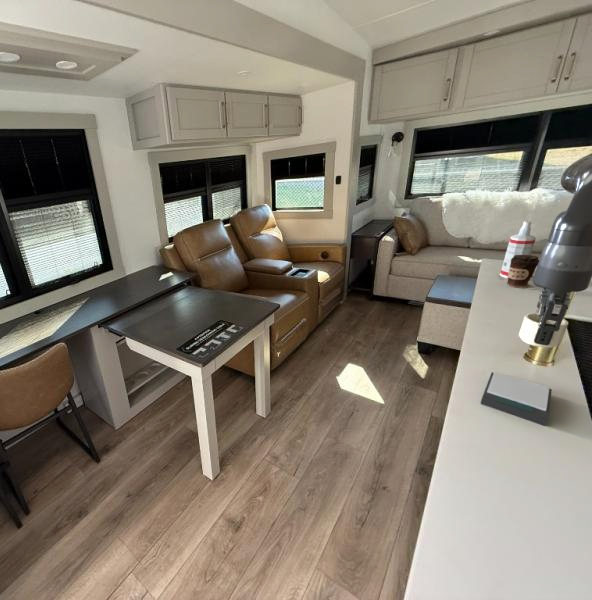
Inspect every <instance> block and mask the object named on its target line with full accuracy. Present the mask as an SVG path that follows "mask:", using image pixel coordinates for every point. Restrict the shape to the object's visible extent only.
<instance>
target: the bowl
mask: <svg viewBox="0 0 592 600" xmlns="http://www.w3.org/2000/svg"><path fill="white" fill-rule="evenodd" d="M539 322H540V317H539V316H538V313H537V312H529V313H525V315H524V317H523V320H522V323H521V326H520V329H519V332H518V337H519V338H520V340H522V342H524V343H526V344H527V345H530V346H534V347H539V348H543V349H551V348H555V347H557V346H560V345H561V343H562V342H563V338H564V336H565V333H566V330H567V328H568V326H569V321H568V320H566V319H565V318H563V320H562V322H561V325H560V327H559V328H560V329H559V330H558V332H557V331H554V333H553V336H552V338H551V341H550V344H549V345H541V344H536V343H535V342H534V339H535V336H536V333H537V330H538V324H539ZM546 323H548V324H553V323H554V321H552V320H547V321H546Z"/></svg>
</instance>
